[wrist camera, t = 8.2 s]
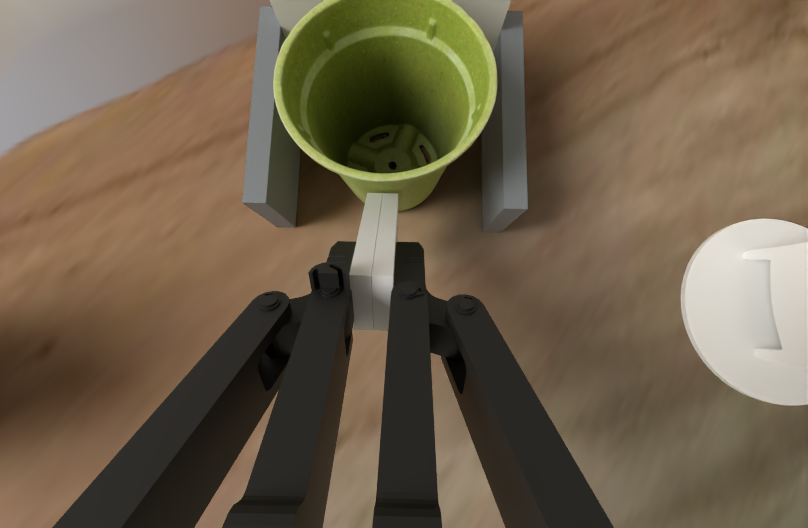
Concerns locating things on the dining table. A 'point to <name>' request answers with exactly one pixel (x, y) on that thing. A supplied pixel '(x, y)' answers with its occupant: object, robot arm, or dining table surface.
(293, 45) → the plant pot
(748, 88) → the dining table surface
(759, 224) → the panda figurine
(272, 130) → the box
